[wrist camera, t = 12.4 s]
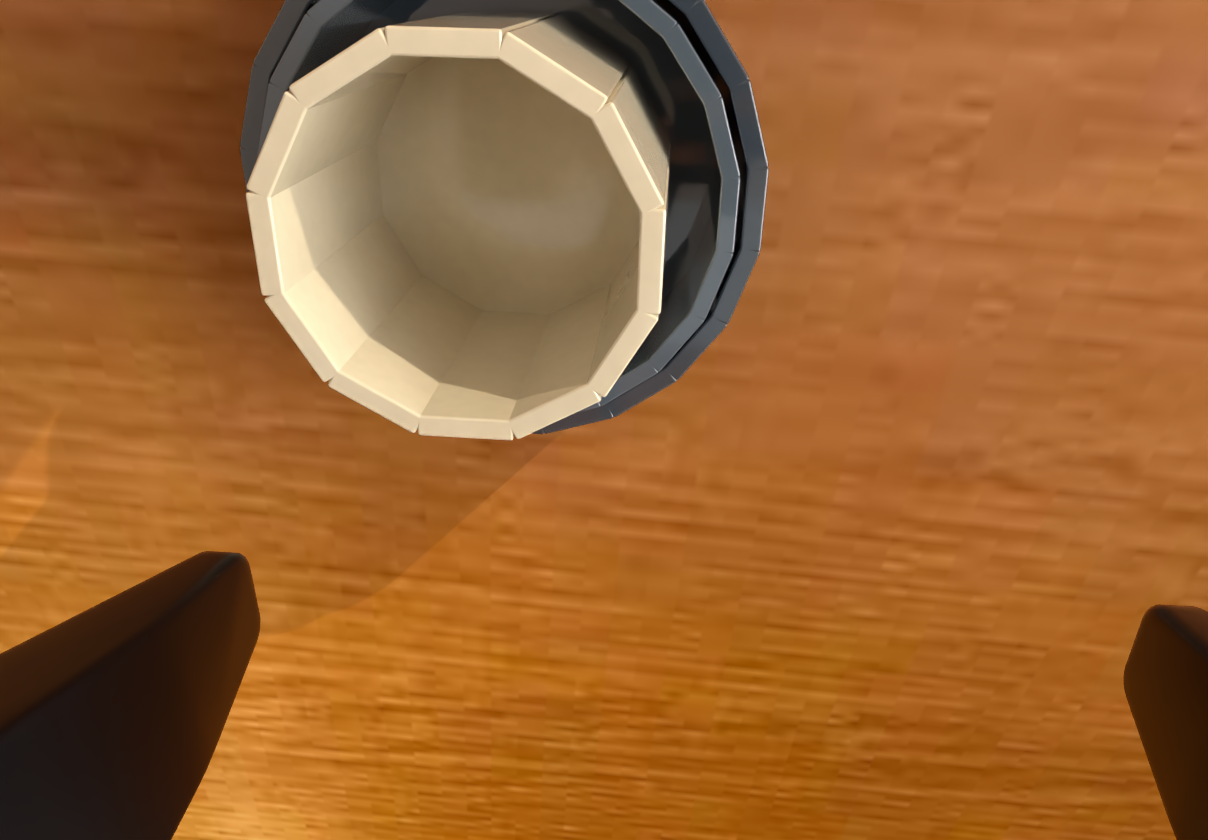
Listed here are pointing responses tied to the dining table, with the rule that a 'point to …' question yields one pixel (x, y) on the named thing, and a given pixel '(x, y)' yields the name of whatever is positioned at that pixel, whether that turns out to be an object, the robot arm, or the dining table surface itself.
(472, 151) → the cream cup
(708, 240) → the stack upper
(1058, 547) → the dining table surface
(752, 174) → the stack lower
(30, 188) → the dining table surface
